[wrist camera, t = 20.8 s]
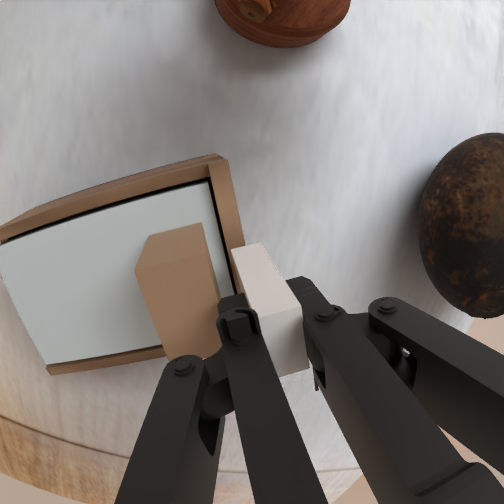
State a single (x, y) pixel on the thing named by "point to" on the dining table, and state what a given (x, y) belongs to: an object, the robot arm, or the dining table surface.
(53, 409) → the dining table surface
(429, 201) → the glass bottle
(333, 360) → the robot arm
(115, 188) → the box
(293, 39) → the wooden bird figurine
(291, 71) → the dining table surface
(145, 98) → the dining table surface
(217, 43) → the dining table surface
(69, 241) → the lid
